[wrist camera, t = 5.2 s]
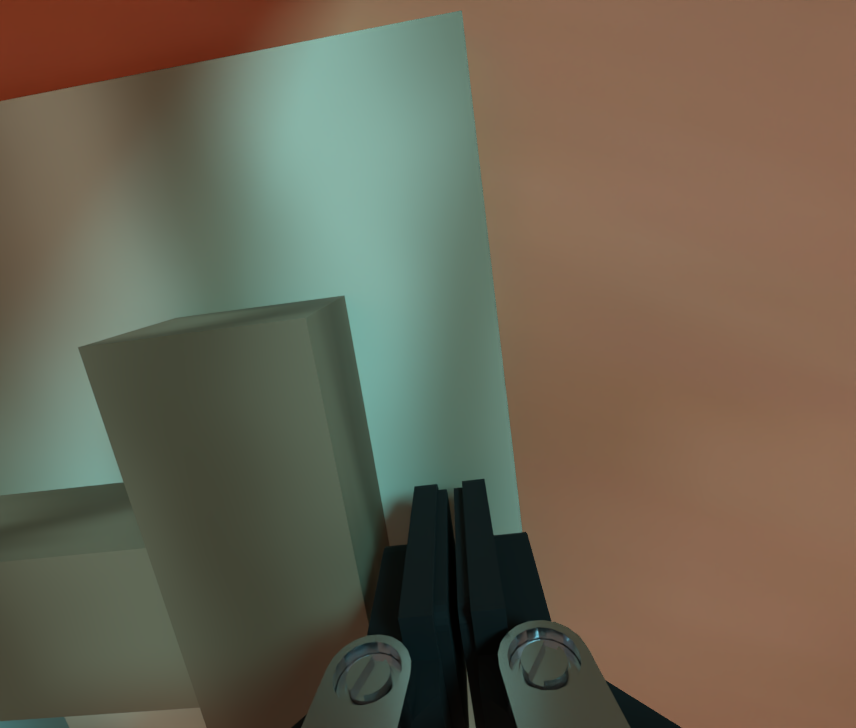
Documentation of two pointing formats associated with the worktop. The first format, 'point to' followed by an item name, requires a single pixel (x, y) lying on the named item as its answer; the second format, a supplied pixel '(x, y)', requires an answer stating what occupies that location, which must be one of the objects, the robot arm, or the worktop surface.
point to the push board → (259, 253)
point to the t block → (201, 528)
